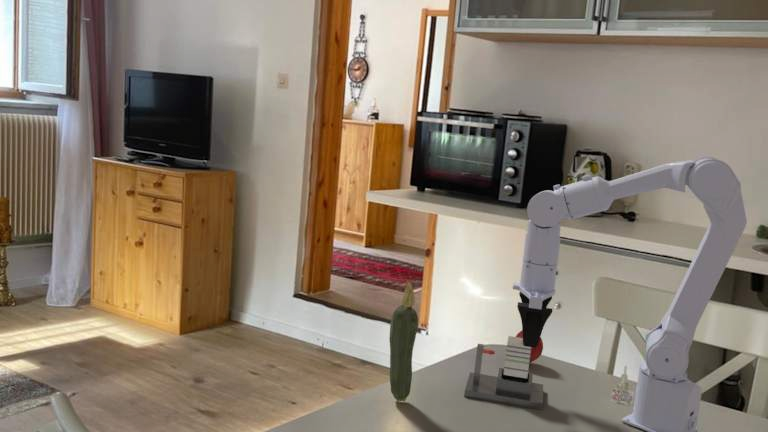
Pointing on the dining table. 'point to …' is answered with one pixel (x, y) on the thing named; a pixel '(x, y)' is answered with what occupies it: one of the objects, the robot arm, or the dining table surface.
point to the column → (517, 358)
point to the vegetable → (402, 345)
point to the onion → (534, 351)
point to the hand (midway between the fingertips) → (530, 339)
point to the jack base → (503, 386)
